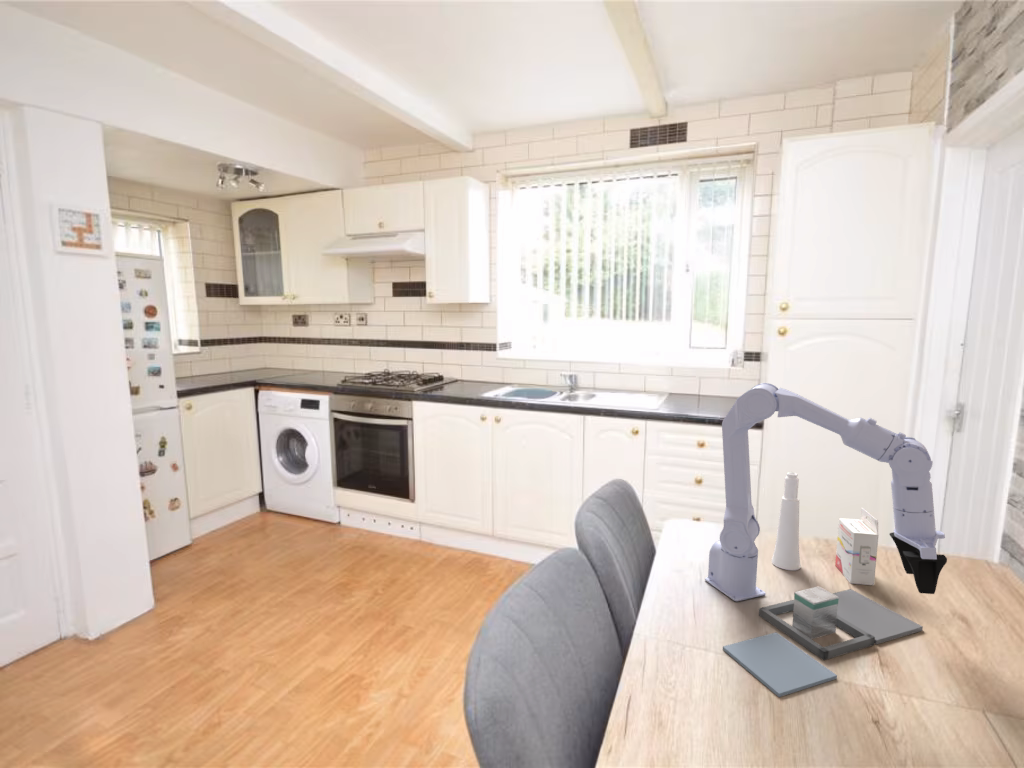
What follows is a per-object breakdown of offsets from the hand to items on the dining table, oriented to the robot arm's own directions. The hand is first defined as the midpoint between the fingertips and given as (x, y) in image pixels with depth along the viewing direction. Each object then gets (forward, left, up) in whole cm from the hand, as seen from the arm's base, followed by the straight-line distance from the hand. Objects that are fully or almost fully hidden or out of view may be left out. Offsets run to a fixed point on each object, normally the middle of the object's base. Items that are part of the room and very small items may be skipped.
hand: (919, 582), depth 91 cm
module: (-8, -15, -11) cm, 20 cm away
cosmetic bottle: (-29, +1, -11) cm, 31 cm away
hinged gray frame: (-8, -9, -11) cm, 16 cm away
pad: (-3, -29, -11) cm, 31 cm away
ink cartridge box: (-20, +11, -11) cm, 25 cm away
